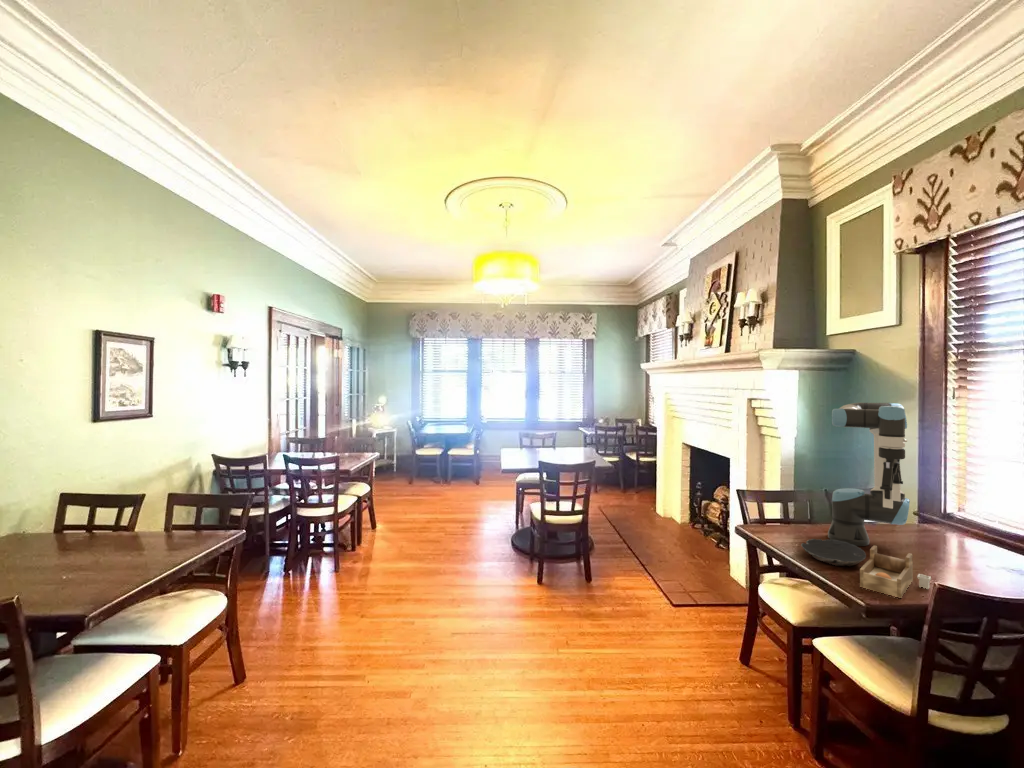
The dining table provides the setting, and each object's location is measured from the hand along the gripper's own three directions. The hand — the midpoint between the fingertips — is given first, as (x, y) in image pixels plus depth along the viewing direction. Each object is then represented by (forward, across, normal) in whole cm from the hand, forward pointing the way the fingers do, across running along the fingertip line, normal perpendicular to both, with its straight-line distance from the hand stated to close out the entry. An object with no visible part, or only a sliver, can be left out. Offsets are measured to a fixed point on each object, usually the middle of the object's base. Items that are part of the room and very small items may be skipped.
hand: (891, 504), depth 164 cm
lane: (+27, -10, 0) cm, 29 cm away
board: (+27, +1, +19) cm, 33 cm away
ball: (+24, -16, 0) cm, 29 cm away
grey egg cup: (+27, -4, -9) cm, 29 cm away
